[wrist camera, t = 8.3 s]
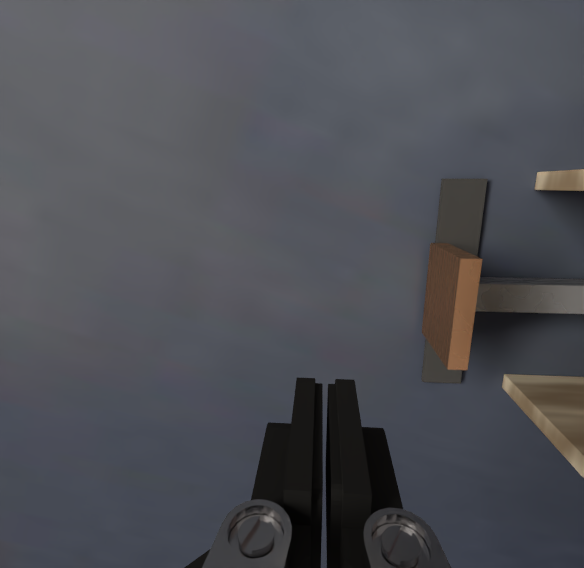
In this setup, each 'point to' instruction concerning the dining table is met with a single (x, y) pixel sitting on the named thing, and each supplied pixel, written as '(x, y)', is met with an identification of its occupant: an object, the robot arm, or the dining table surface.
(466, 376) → the dining table surface
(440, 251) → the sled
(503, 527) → the dining table surface
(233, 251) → the dining table surface
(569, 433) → the tunnel
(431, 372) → the strip
